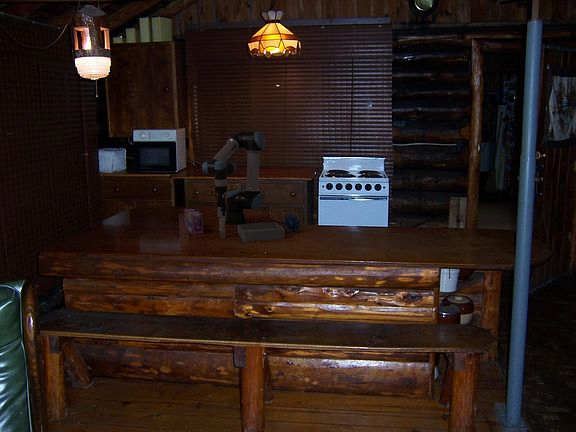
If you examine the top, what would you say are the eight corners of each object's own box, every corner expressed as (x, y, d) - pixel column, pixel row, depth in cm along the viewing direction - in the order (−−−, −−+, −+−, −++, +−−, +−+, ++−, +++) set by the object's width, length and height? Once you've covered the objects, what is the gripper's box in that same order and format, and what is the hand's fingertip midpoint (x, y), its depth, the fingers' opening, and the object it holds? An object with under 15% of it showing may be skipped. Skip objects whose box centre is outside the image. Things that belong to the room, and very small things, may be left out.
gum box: (204, 234, 377) (203, 213, 375) (192, 235, 374) (191, 214, 372) (195, 226, 399) (195, 207, 396) (184, 227, 396) (183, 208, 393)
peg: (219, 236, 370) (218, 218, 368) (225, 236, 371) (224, 217, 369) (220, 237, 366) (219, 219, 364) (226, 237, 367) (225, 219, 365)
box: (237, 233, 377) (237, 224, 376) (276, 230, 384) (275, 222, 383) (244, 241, 356) (244, 232, 355) (284, 238, 363) (284, 229, 362)
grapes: (282, 233, 378) (282, 215, 375) (283, 230, 384) (283, 213, 382) (299, 233, 376) (299, 215, 373) (301, 231, 382) (301, 213, 380)
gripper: (212, 183, 373) (212, 215, 377) (218, 188, 349) (219, 223, 353) (223, 183, 375) (224, 215, 379) (230, 188, 351) (231, 222, 355)
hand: (221, 218), depth 366 cm, fingers open, 13 cm apart
